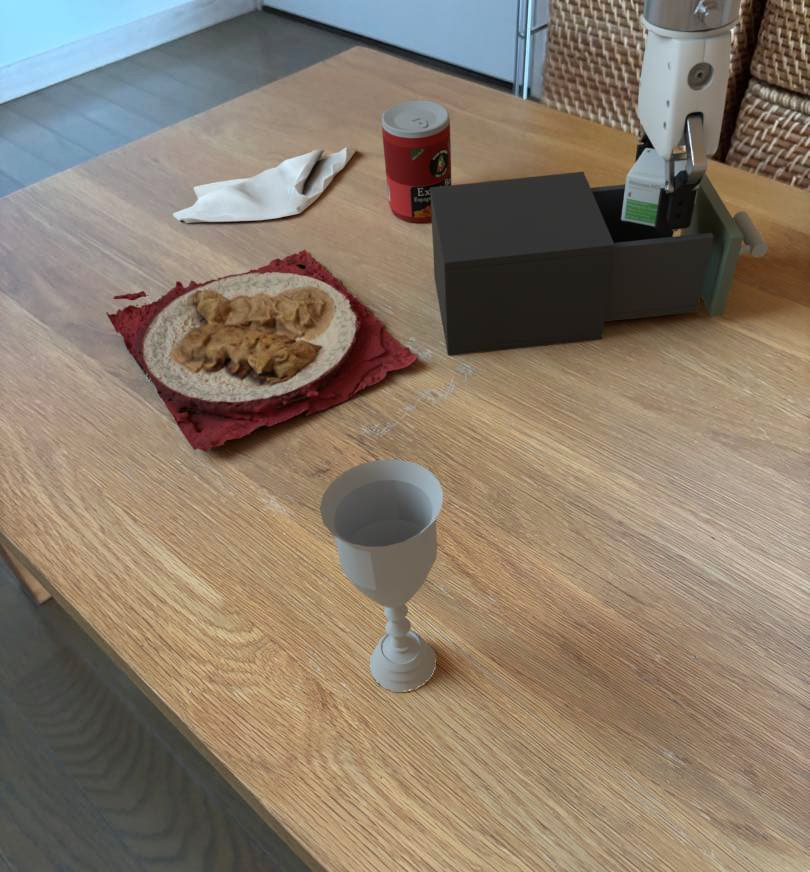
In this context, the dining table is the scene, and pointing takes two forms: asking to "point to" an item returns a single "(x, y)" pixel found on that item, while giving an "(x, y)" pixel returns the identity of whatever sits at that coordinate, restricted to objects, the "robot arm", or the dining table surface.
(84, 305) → the dining table surface
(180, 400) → the plate with food
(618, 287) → the drawer
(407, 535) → the chalice
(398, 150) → the canned food
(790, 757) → the dining table surface
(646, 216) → the small box
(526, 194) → the cabinet
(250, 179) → the cloth
